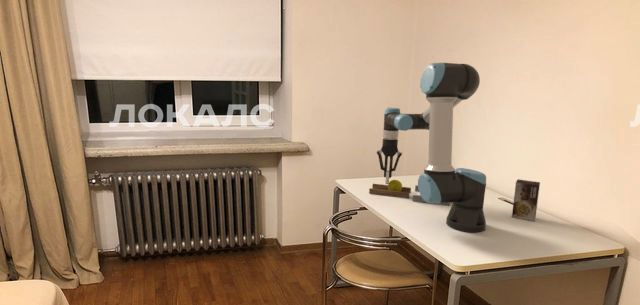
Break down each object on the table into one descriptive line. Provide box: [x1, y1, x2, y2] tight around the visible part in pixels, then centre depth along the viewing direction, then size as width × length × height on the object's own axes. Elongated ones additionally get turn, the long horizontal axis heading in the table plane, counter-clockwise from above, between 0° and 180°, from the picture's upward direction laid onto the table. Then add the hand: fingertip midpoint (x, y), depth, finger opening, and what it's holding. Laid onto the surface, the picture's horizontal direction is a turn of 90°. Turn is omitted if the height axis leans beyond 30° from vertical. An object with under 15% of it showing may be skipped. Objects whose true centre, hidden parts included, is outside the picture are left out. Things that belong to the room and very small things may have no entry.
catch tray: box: [412, 184, 450, 206], centre depth 194 cm, size 19×17×3 cm
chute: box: [368, 183, 412, 199], centre depth 200 cm, size 11×20×2 cm, turn 73°
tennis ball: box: [387, 179, 403, 192], centre depth 200 cm, size 7×7×7 cm
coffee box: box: [511, 178, 541, 222], centre depth 169 cm, size 9×6×16 cm
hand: (387, 183), depth 200 cm, fingers closed
